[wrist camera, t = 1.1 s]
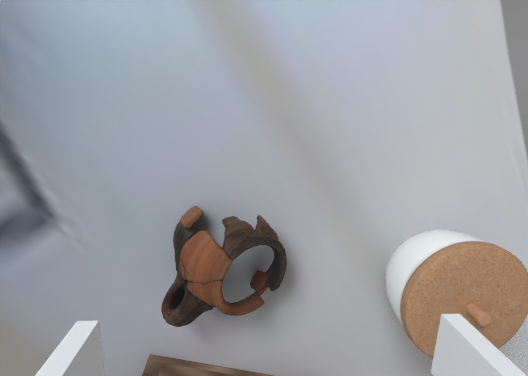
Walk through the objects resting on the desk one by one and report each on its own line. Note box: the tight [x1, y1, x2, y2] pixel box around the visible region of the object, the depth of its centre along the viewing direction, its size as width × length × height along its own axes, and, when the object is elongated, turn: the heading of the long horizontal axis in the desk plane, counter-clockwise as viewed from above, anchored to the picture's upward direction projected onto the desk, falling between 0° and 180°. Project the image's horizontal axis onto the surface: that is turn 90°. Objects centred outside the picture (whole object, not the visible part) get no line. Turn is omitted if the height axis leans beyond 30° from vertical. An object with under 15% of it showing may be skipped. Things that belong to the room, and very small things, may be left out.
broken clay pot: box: [162, 206, 287, 327], centre depth 29 cm, size 12×10×8 cm
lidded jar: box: [385, 229, 528, 357], centre depth 29 cm, size 11×11×9 cm
